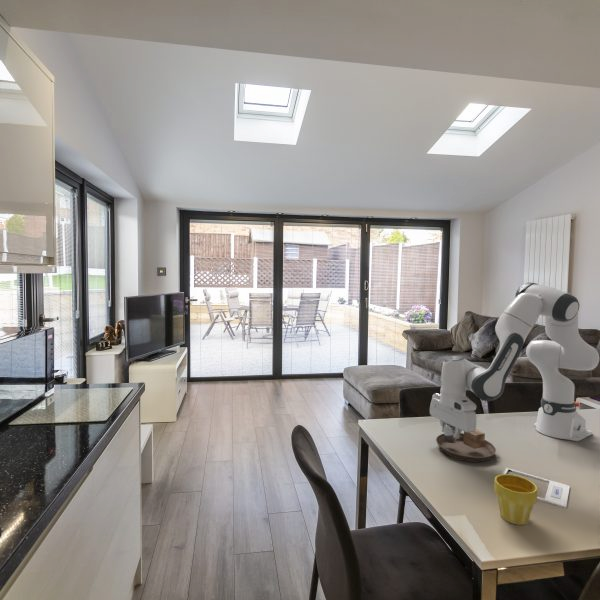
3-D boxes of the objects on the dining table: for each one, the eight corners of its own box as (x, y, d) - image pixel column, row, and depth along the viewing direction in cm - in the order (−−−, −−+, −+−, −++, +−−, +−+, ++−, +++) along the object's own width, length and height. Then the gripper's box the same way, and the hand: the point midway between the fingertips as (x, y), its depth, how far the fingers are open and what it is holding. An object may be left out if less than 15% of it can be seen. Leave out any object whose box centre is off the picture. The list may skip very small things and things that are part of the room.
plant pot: (484, 508, 113) (486, 475, 113) (515, 504, 116) (517, 471, 115) (511, 531, 103) (513, 495, 102) (544, 527, 105) (547, 491, 105)
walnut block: (473, 441, 152) (473, 428, 152) (484, 446, 148) (484, 433, 147) (463, 443, 150) (464, 430, 150) (474, 448, 146) (475, 435, 145)
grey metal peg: (450, 437, 155) (450, 422, 154) (458, 442, 151) (459, 426, 150) (441, 439, 153) (442, 423, 153) (449, 443, 149) (450, 428, 149)
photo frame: (566, 506, 114) (497, 484, 125) (565, 509, 114) (497, 487, 125) (569, 485, 126) (506, 467, 137) (569, 488, 126) (506, 470, 137)
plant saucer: (505, 466, 140) (506, 457, 139) (445, 463, 141) (445, 454, 140) (482, 442, 160) (482, 433, 160) (429, 439, 161) (429, 431, 161)
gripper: (426, 392, 159) (425, 426, 160) (467, 408, 140) (464, 447, 141) (439, 390, 162) (437, 424, 163) (480, 406, 143) (478, 444, 144)
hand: (450, 435), depth 152 cm, fingers closed on grey metal peg, 4 cm apart
